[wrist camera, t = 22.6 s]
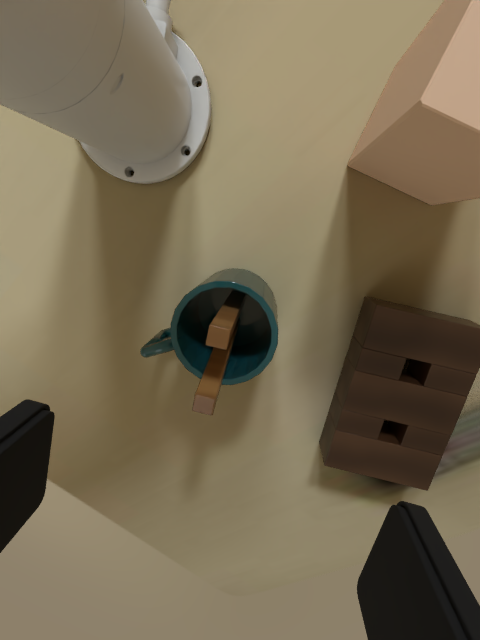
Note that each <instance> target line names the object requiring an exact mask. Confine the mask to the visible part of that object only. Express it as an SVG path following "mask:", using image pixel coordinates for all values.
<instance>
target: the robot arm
mask: <svg viewBox="0 0 480 640" xmlns="http://www.w3.org/2000/svg"><path fill="white" fill-rule="evenodd" d="M170 1H171V0H146V5H145V4H144V2H143V0H0V104H1V105H3V106H5V107H7V108H9V109H11V110H14V111H16V112H18V113H20V114H22V115H24V116H27V117H29V118H31V119H33V120H35V121H37V122H40V123H42V124H44V125H46V126H48V127H50V128H53V129H55V130H57V131H59V132H61V133H63V134H66V135H68V136H70V137H72V138H74V139H76V140H79V142H80V144H81V146H82V147H83V149H84V150H85V151H86V153H87V154H88V155H89V157H90V158H91V159H92V160H93V161H94V162H95V163H96V164H97V165H98V166H99V167H100V168H102V169H103V170H105V171H106V172H108V173H109V174H111V175H113V176H115V177H117V178H120V179H122V180H125V181H129V182H133V183H141V184H150V183H158V182H162V181H164V180H167V179H170V178H172V177H174V176H176V175H177V174H179V173H180V172H182V171H183V170H184V169H185V168H186V167H188V166H189V165H190V164H191V163H192V162H193V160H194V159H195V158H196V156H197V155H198V153H199V152H200V151H201V148H202V146H203V144H204V142H205V140H206V138H207V134H208V130H209V126H210V121H211V109H212V108H211V95H210V90H209V86H208V82H207V78H206V76H205V74H204V71H203V69H202V66H201V65H200V63H199V61H198V59H197V58H196V56H195V54H194V53H193V51H192V50H191V49H190V48H189V47H188V45H187V44H186V43H185V42H184V41H183V40H182V39H181V38H179V37H178V36H177V35H176V34H174V33H173V32H172V31H171V28H172V19H171V17H170V16H169V15H168V13H169V5H170ZM197 83H201V86H200V87H196V85H197ZM187 150H189V151H190V154H189V155H185V152H186V151H187ZM131 171H134V175H133V176H131ZM53 425H54V413H53V412H51V411H50V407H49V406H48V405H47V404H43V403H39V402H36V401H32V400H24V401H22V402H21V403H20V404H18V405H17V406H15V407H14V408H12V409H11V410H10V411H8V412H7V413H5V414H4V415H3V416H1V417H0V553H1V551H2V550H3V549H4V548H5V547H6V545H7V544H8V543H9V542H10V541H11V539H12V538H13V537H14V536H15V535H16V533H17V532H18V531H19V530H20V528H21V527H22V526H23V525H24V524H25V522H26V521H27V520H28V519H29V518H30V516H31V515H32V514H33V513H34V512H35V510H36V509H37V508H38V507H39V505H40V503H41V502H42V500H43V497H44V494H45V489H46V481H47V473H48V465H49V457H50V449H51V441H52V433H53ZM357 594H358V599H359V604H360V608H361V612H362V616H363V620H364V625H365V629H366V633H367V637H368V640H480V606H479V604H478V602H477V600H476V599H475V597H474V595H473V593H472V591H471V590H470V588H469V586H468V584H467V582H466V580H465V579H464V577H463V575H462V573H461V571H460V570H459V568H458V566H457V564H456V563H455V561H454V559H453V557H452V555H451V553H450V552H449V550H448V548H447V546H446V545H445V542H444V541H443V539H442V537H441V535H440V533H439V532H438V530H437V528H436V526H435V524H434V523H433V521H432V519H431V517H430V515H429V513H428V512H427V510H426V509H425V508H424V507H422V506H419V505H415V504H411V503H408V502H404V501H400V502H399V503H398V504H397V505H392V506H391V507H390V509H389V511H388V513H387V516H386V518H385V520H384V522H383V525H382V527H381V529H380V531H379V534H378V536H377V538H376V541H375V543H374V545H373V547H372V550H371V552H370V554H369V556H368V559H367V561H366V563H365V565H364V568H363V570H362V572H361V575H360V577H359V579H358V584H357Z"/></svg>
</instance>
